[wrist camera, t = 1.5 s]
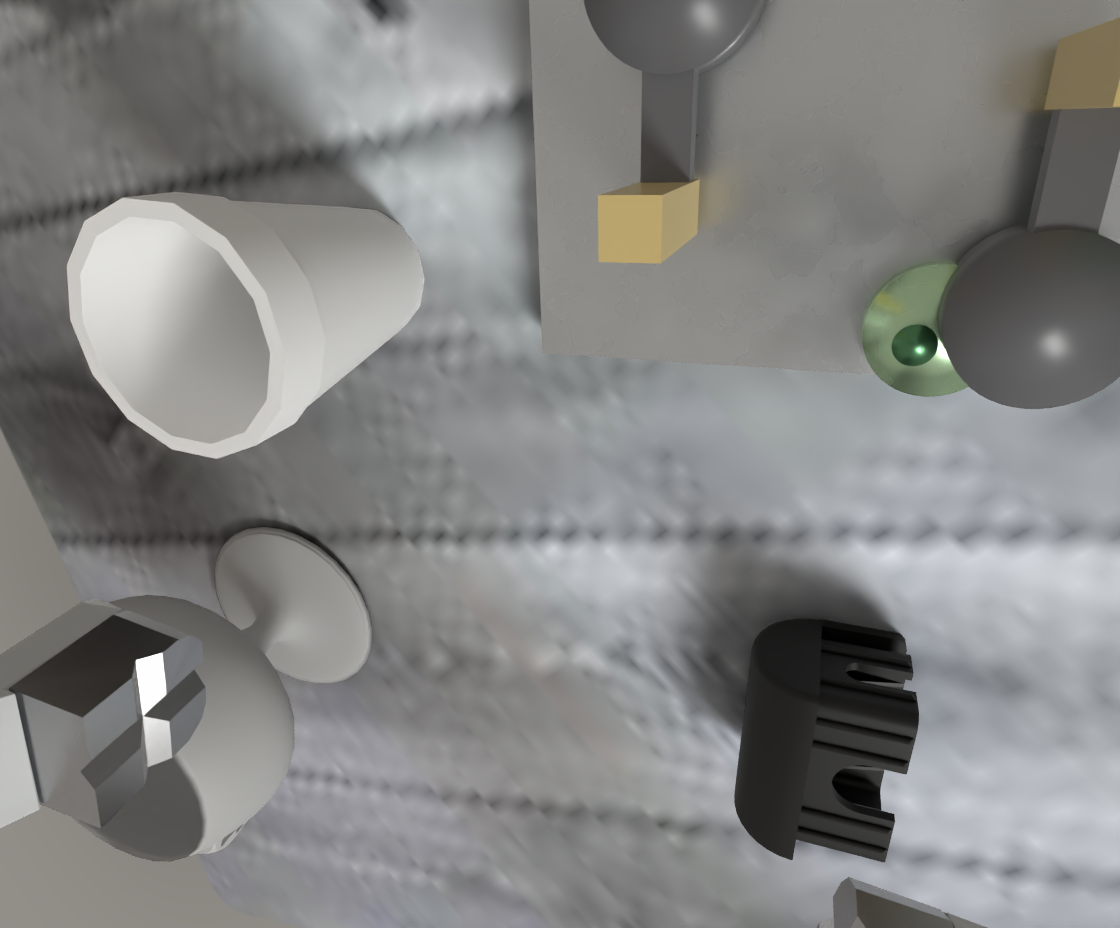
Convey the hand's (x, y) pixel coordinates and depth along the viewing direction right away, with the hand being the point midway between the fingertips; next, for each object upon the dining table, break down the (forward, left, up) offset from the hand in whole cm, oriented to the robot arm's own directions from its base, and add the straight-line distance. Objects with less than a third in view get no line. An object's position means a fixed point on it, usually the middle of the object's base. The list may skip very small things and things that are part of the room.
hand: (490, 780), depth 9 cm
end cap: (-5, +20, -28) cm, 35 cm away
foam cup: (+19, -1, -28) cm, 33 cm away
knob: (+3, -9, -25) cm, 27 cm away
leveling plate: (-2, -8, -27) cm, 29 cm away
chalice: (+28, +21, -28) cm, 44 cm away
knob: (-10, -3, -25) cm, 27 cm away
